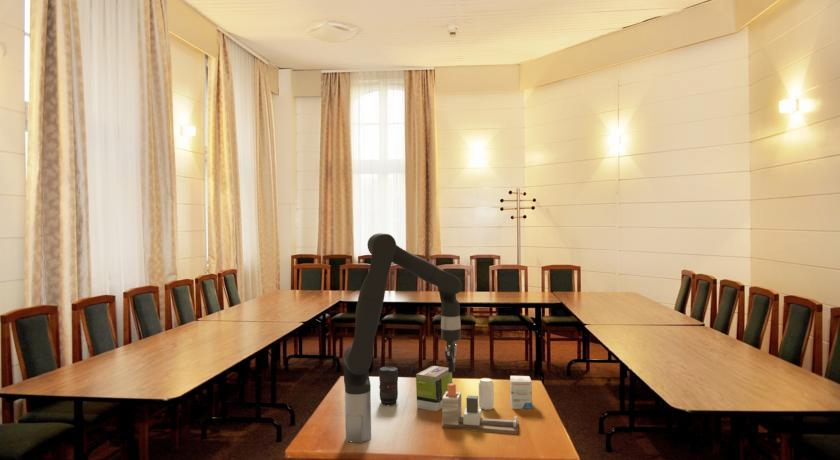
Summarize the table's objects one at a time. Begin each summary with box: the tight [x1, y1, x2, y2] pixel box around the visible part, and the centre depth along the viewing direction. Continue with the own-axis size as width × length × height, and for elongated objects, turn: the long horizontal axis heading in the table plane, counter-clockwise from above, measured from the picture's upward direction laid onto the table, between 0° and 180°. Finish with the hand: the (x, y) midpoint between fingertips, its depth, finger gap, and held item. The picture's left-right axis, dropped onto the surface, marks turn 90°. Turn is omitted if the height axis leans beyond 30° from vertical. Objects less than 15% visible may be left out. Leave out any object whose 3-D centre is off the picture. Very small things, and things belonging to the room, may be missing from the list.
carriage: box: [462, 395, 482, 426], centre depth 199 cm, size 7×6×9 cm
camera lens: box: [378, 366, 399, 406], centre depth 226 cm, size 8×8×15 cm
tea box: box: [415, 365, 453, 412], centre depth 223 cm, size 15×10×15 cm, turn 149°
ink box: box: [509, 375, 533, 410], centre depth 221 cm, size 9×8×12 cm
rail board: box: [441, 391, 520, 435], centre depth 199 cm, size 10×28×11 cm, turn 76°
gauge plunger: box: [448, 382, 457, 397], centre depth 201 cm, size 3×3×10 cm
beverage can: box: [478, 377, 495, 411], centre depth 218 cm, size 6×6×12 cm
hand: (451, 371), depth 201 cm, fingers closed
